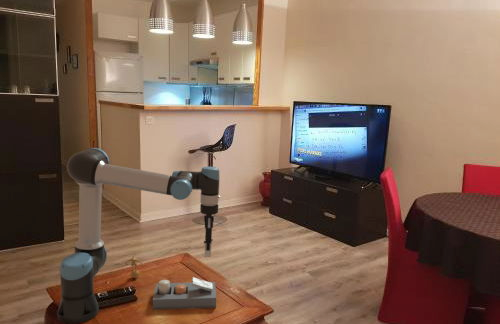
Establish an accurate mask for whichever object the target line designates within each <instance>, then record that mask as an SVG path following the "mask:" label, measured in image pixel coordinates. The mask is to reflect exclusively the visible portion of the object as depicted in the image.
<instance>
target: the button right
mask: <svg viewBox="0 0 500 324" xmlns="http://www.w3.org/2000/svg"><path fill="white" fill-rule="evenodd" d="M175 294H186V285H184V284H179V285H176V286H175Z"/></svg>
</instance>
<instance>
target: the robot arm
mask: <svg viewBox="0 0 500 324" xmlns="http://www.w3.org/2000/svg"><path fill="white" fill-rule="evenodd" d="M200 170H201V171H190V170H189V171H187V170H186V171H185V170H175V171H173V172H171V173H172V174H171V175H170V174H164V173H159V172H154V171H147V170H143V169H136V168H131V167H126V166H121V165H116V164H115V165H114V164H111V163H110V158H109V156H108V154H107V152H105V151H104V150H103V149H100V148H98V147H89V148H85V149H84V150H81V151H80V152H76V153H73V155H72V156H70V158H69V159H68V161H67V165H66V171H67V175H69V177H70V178H72V180H74V181H75V183H76V184H78V186H79V188H78V189H79V195H78V197H79V199H78V200H79V201H78V203H79V204H78V206H79V208H78V209H79V210H78V211H79V212H78V240H77V241H76V242H75V243H74V253H72V254H70V255H67V256H65V257H64V258H63V259H62V260H61V262H60V267H59V274H60V291H61V299H60V302H59V305H58V308H57V314H56V315H57V320H58V321H59V322H61V323H63V324H81V323H85V322H89V321H90V320H92V319H93V318H94V317H95V316H97V315H98V313H99V303H98V301H97V298H96V295H95V292H94V278H95V276H96V275H97V274H98V273H99V271H100V270H101V269H102V268H103V266H104V265H105V263H106V262H107V258H108V251H107V248H106V247H105V242H104V240H103V239H101V238H102V237H101V235H102V234H101V233H102V191H103V186H104V185H108V186H109V185H110V186H115V187H121V188H127V189H132V190H138V191H144V192H149V193H155V194H161V195H167V196H171V197H173V198H174V199H175V200H178V201H182V200H183V201H184V200H186V199H187V198H189V196H191V194H192V192H193V190H195V191H197V190H199V191H200V201H199V202H200V206H199V207H200V208H199V209H200V210H199V213H200V214H203V215H204V216H203V217H204V218H203V219H204V220H203V221H204V228H205V235H204V240H203V243H204V258H212V243H213V241H214V239H213V238H212V234H213V227H214V220H215V218H214V217H215V216H214V215H216V214H218V212H219V199H220V198H221V195H220V194H219V193H220V170H219V168H218V167H216V166H202V168H201V169H200Z"/></svg>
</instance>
